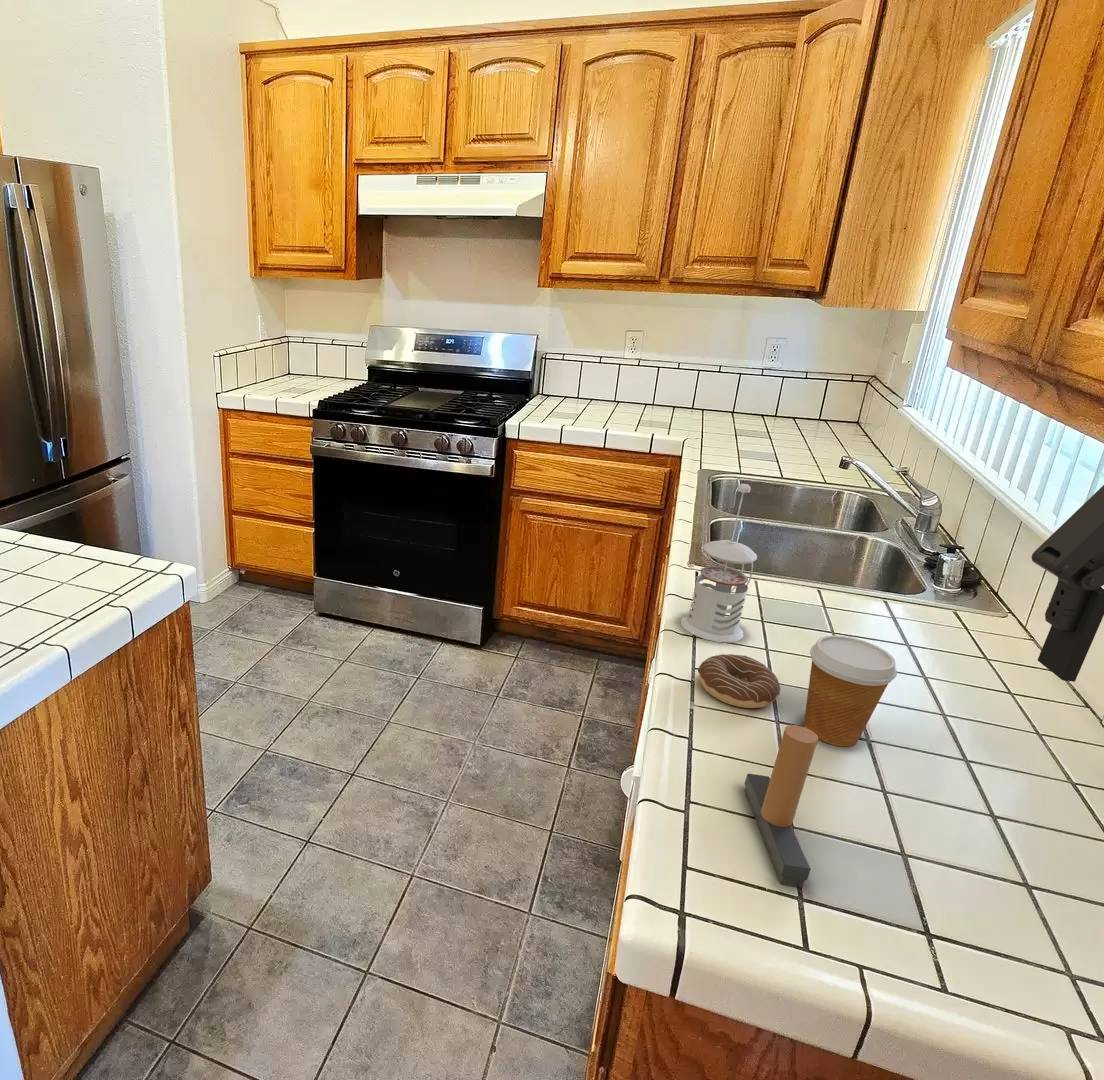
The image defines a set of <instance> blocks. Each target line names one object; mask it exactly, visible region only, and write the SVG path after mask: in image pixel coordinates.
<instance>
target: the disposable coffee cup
mask: <svg viewBox="0 0 1104 1080" xmlns="http://www.w3.org/2000/svg"><path fill="white" fill-rule="evenodd" d="M809 654H810V658H811V666H810V674H809V683H808V689H807V697H806V703H805V704H806V705H805V712H804V720H803V727H805V728H807V729H809V730H811V731H812V732H814V733H815V734H816V735H817V737H818V741H821V742H824V743H826V744H829V745H831V746H832V745H833V746H837V747H852V746H855V745H856V744H857V743H858V741H859V740H860V738H861V736H862V734H863V732H864V730H865V728H866V727H867V725H868V722H869V721H870V719H871V717H872V715H873V713H874V711H875V710H876V708H877V706H878V704H879V702H880V700H881V698H882V696H883V694H884V692H885V690H886V689H887V687H888V686H889V684H890V683H892V681H893V680H894V679H896V677H897V676H898V669H896V660H895V658H894V657H893V655H892V654H891V653H889V652H888V651H886V650H885V649H884V648H882V647H880V646H878V645H877V644H873V643H871V642H869V641H866V640H864V639H859V638H855V637H852V636H846V635H834V634H833V635H824V636H822V637H820V638H819V639H818V640H817V641H816V642H815V643H814V644H813V645H812V646H811V647H810V649H809Z"/></svg>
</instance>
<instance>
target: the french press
mask: <svg viewBox="0 0 1104 1080" xmlns="http://www.w3.org/2000/svg"><path fill="white" fill-rule="evenodd" d="M751 489H752V488H751V486H750V485H749V484H748V483H740V484H739V485H738V486H737V489H736V491H737V492H740V493H741V496H740V500H739V504H738V509H737V513H736V517H735V522H734V527H733V531H732V536H731V539H730V540H729V539H720V540H712V541H709V542H705V544H703V545H702V551H703V552H704V553H705V554H706V555H707V556H708V557H710V558H712V559H715V560H717V561H721V562H723V563H724V562H725V566H720V565H707V566H703V567H702V568H700V574H699V575H698V576H697V577H696V579H695V585H694V589H693V593H692V599H691V603H690V607H689V612H688V615H685V616H684V617H682V618H681V620H680V625H681V626H682V628H683V629H684V630H685V631H687V632H688V633H689V634H691V635H693V636H696V637H698V638H701V639H703V640H706V641H707V640H708V641H711V642H717V643H735V642H739V641H741V640H742V639H743V638H744V631H743V630H742V629H741V627H740V623H741V618H742V615H743V613H742V612H743V611H744V604H745V602H746V597H747V594H748V590H749V584H750V583H751V580H752V576H753V572H754V562H755V561H756V560H758V554H756V553H755V552H754V551H753V549H751V547H749V546H747V545H745V544H743V543H742V542H741V543H740V542H737V541H734V538H735V532H736V529H737V523H738V520H739V515H740V511H741V506H742V503H743V498H744V494H749V493H751ZM728 564H736V565H737V564H738V565H741V570H740V571H739V570H737V569H733V568H729V567H728ZM748 564H751V565H750V566H751V571H750V574H749V578H748V576H747V575H745V574H744V573H743V572H744V569H745V565H748ZM704 580H707V581H709V582H713V583H715V585H714V584H712V583H707V582H702V581H704ZM701 582H702V583H701ZM732 587H733V588H732ZM734 590H735V591H734ZM733 591H734V593H732V592H733ZM729 606H731V608H728V607H729ZM726 614H729V615H727V616H726Z"/></svg>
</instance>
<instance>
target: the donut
mask: <svg viewBox="0 0 1104 1080" xmlns="http://www.w3.org/2000/svg"><path fill="white" fill-rule="evenodd" d="M697 673H698V679H699V682H700V684H701V686H702V687H703V689H704V690H705V691H706V692H707V693H708V694H709V695H710V696H711V697H714V698H715V699H717V700H719V701H721V702H723V703H725V704H728V705H731V706H734V707H739V708H745V709H759V708H764V707H766V706H769V705H770V704H772V703H774V702H775V701H776V699H778V696H780V693H781V685H780V682H779V679H778V677H777V675H776V674H775V673H774V672H773V671H772V670H771V669H770V668H769V667H767V665H765V664H764V663H763V662H762V661H759V660H757V659H755V658H753V657H750V656H747V655H742V654H734V653H733V654H732V653H729V654H725V653H724V654H716V655H713V656H709V657H707V658H706V659H705V660H704V661H702V662H701V664H700V665H699V666H698V669H697Z"/></svg>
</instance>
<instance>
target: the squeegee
mask: <svg viewBox="0 0 1104 1080" xmlns="http://www.w3.org/2000/svg"><path fill="white" fill-rule="evenodd" d="M818 741H819V739H818V737H817V735H816V734H815V733H814V732H812V731H811V730H809V729H807V728H805V727H804V726H801V725H796V724H789V725H787V726H786V727H784V730H783V733H782V737H781V741H780V744H779V747H778V751H777V755H776V758H775V762H774V765H773V767H772V770H771V771H772V772H771V775H770V776H768V775H762V774H761V775H760V774H754V773H746V777H745V780H744V785H745V787H744V794H745V796H746V799H747V801H748V804H749V806H750V809H751V811H752V814H753V817H754V819H755V822H756V825H757V828H758V829H759V832H760V835H761V838H762V840H763V842H764V846H765V848H766V850H767V852H768V856H769V858H770V859H771V863H772V865H773V868H774V870H775V874H776V876H777V879H778V881H779V884H780V885H782V886H788V887H794V888H798V889H799V888H800V889H803V887H804V883H805V881H808V879H809V875H810V873H811V866H810V865H809V861H808V860H807V858H806V856H805V852H804V851H803V848H802V846H801V844H800V842H799V840H798V837H797V836H796V833H795V831H794V828H793V826H792V824H793V822H794V818H795V816H796V812H797V809H798V805H799V802H800V800H801V796H802V793H803V789H804V786H805V783H806V779H807V777H808V773H809V770H810V767H811V763H812V761H813V757H814V754H815V750H816V748H817V744H818Z"/></svg>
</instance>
